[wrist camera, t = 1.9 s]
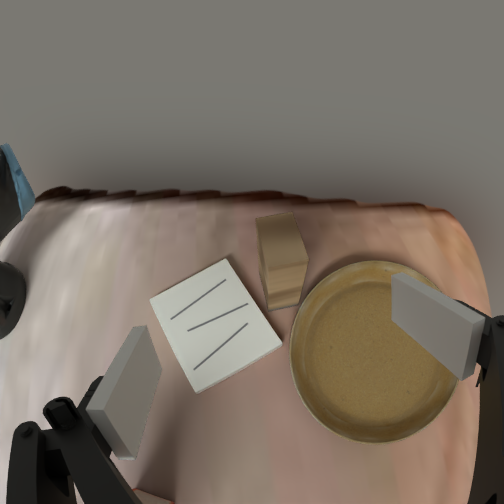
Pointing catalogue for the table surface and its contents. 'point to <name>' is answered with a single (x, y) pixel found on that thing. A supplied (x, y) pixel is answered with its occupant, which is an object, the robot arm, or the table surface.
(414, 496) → the table surface
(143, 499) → the cracker box
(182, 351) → the board
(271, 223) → the block
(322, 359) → the plant saucer
